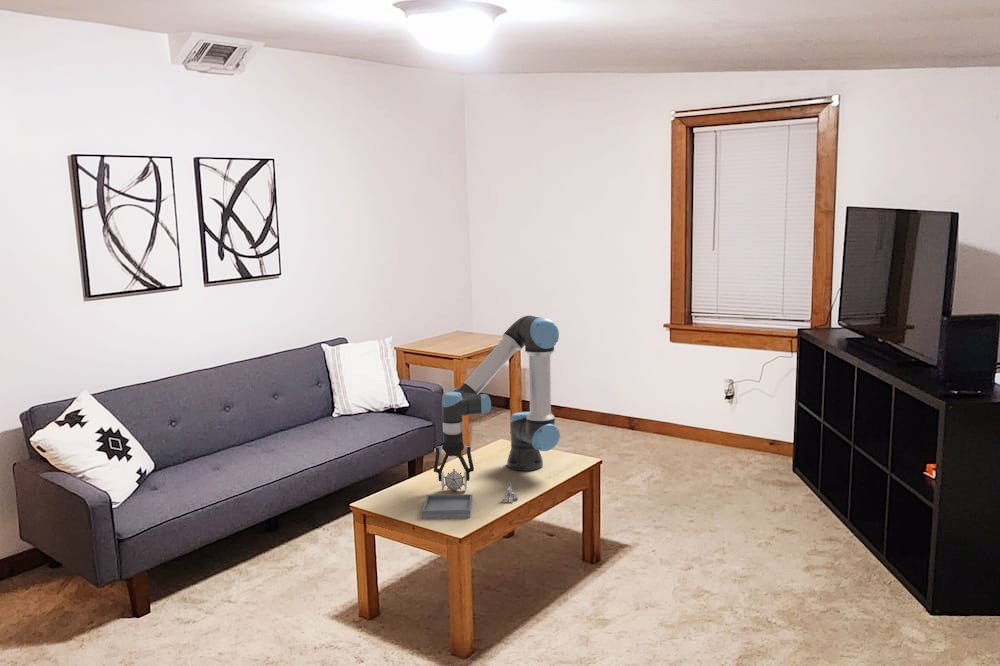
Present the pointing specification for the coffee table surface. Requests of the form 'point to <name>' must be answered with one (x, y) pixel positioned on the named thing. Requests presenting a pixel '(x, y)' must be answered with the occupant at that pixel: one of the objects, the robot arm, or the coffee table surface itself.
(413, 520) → the coffee table surface
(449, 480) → the game die
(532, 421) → the robot arm
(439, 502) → the square tray
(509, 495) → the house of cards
